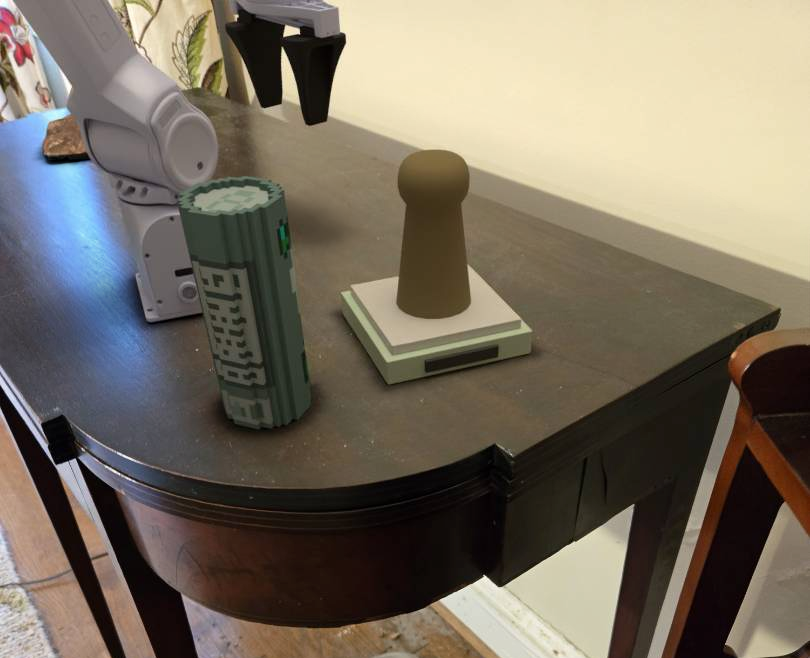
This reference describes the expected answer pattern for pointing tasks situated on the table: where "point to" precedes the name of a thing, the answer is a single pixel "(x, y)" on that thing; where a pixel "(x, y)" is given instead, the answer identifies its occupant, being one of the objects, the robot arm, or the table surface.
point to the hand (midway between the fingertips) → (293, 114)
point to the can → (248, 297)
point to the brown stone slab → (64, 140)
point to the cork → (433, 235)
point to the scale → (433, 331)
